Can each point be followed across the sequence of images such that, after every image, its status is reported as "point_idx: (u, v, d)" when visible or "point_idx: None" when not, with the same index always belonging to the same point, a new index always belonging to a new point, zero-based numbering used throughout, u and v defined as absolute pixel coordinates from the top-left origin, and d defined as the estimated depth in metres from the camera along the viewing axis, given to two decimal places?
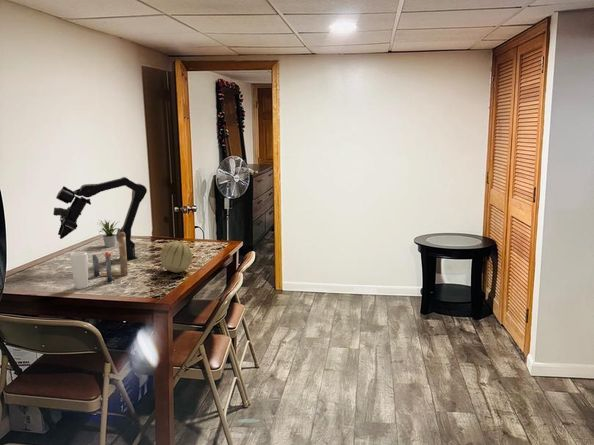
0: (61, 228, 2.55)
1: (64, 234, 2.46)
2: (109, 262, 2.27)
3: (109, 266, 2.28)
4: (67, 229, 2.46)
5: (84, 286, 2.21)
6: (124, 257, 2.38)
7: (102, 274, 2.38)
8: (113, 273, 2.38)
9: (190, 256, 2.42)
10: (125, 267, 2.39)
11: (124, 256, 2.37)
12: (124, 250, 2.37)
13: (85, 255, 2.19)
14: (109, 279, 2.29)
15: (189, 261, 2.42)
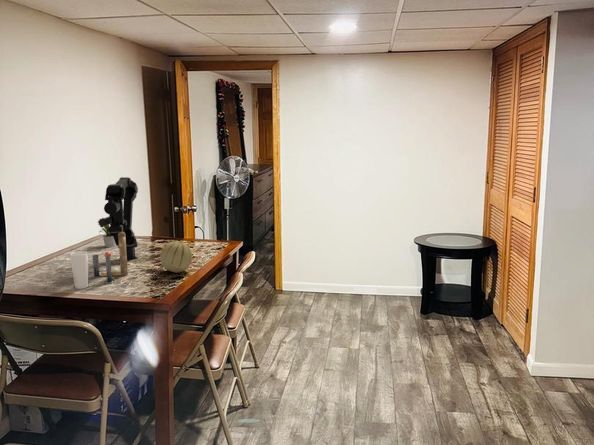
0: None
1: (117, 240, 2.44)
2: (109, 262, 2.27)
3: (109, 266, 2.28)
4: (117, 234, 2.44)
5: (84, 286, 2.21)
6: (124, 257, 2.38)
7: (102, 274, 2.38)
8: (113, 273, 2.38)
9: (190, 256, 2.42)
10: (125, 267, 2.39)
11: (124, 256, 2.37)
12: (124, 250, 2.37)
13: (85, 255, 2.19)
14: (109, 279, 2.29)
15: (189, 261, 2.42)
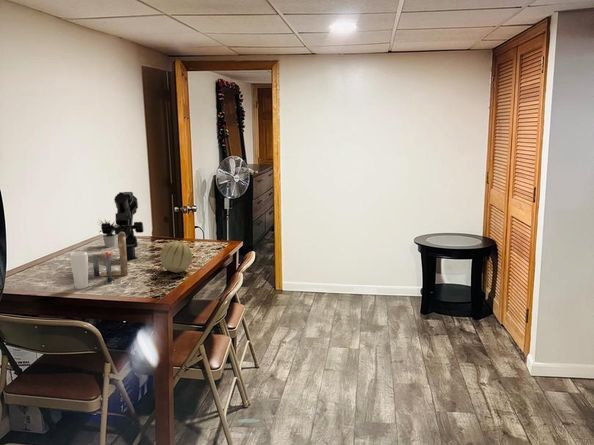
0: None
1: None
2: (109, 262, 2.27)
3: (109, 266, 2.28)
4: (125, 233, 2.49)
5: (84, 286, 2.21)
6: (124, 257, 2.38)
7: (102, 274, 2.38)
8: (113, 273, 2.38)
9: (190, 256, 2.42)
10: (125, 267, 2.39)
11: (124, 256, 2.37)
12: (124, 250, 2.37)
13: (85, 255, 2.19)
14: (109, 279, 2.29)
15: (189, 261, 2.42)
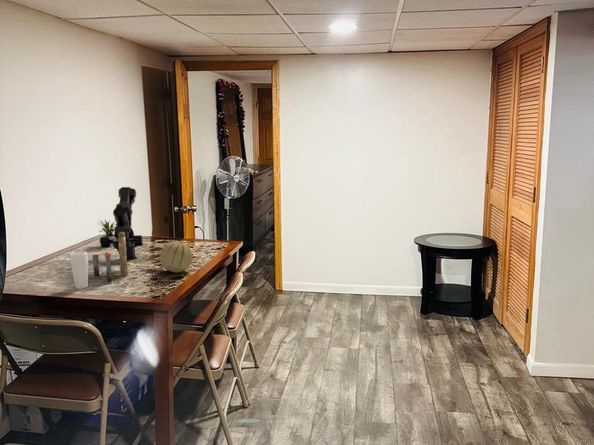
0: None
1: None
2: (109, 262, 2.27)
3: (109, 266, 2.28)
4: None
5: (84, 286, 2.21)
6: (124, 257, 2.37)
7: (102, 274, 2.37)
8: (113, 273, 2.38)
9: (190, 256, 2.42)
10: (125, 267, 2.38)
11: (124, 257, 2.37)
12: (124, 250, 2.37)
13: (85, 255, 2.19)
14: (109, 279, 2.29)
15: (189, 261, 2.42)
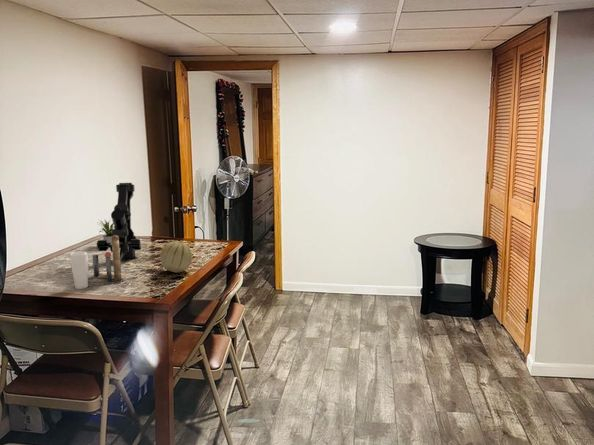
0: None
1: (121, 256, 2.36)
2: (109, 262, 2.27)
3: (109, 266, 2.28)
4: (122, 251, 2.37)
5: (84, 286, 2.21)
6: (116, 261, 2.30)
7: (100, 275, 2.36)
8: None
9: (190, 256, 2.42)
10: (117, 272, 2.31)
11: (116, 261, 2.30)
12: (116, 254, 2.30)
13: (85, 255, 2.19)
14: (109, 279, 2.29)
15: (189, 261, 2.42)
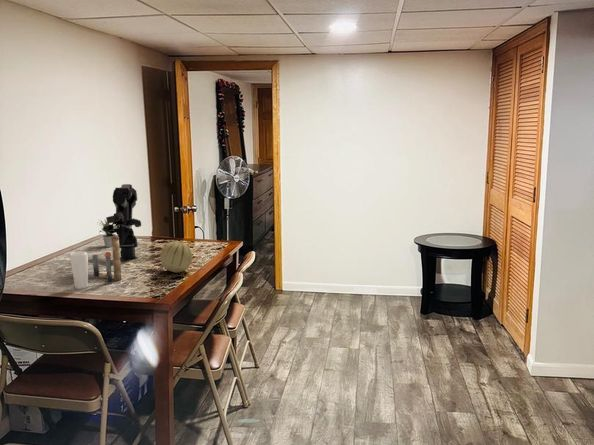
0: None
1: (124, 237, 2.47)
2: (109, 262, 2.27)
3: (109, 266, 2.28)
4: (125, 232, 2.48)
5: (84, 286, 2.21)
6: (116, 261, 2.30)
7: (100, 275, 2.36)
8: None
9: (190, 256, 2.42)
10: (117, 272, 2.31)
11: (116, 261, 2.30)
12: (116, 254, 2.30)
13: (85, 255, 2.19)
14: (109, 279, 2.29)
15: (189, 261, 2.42)
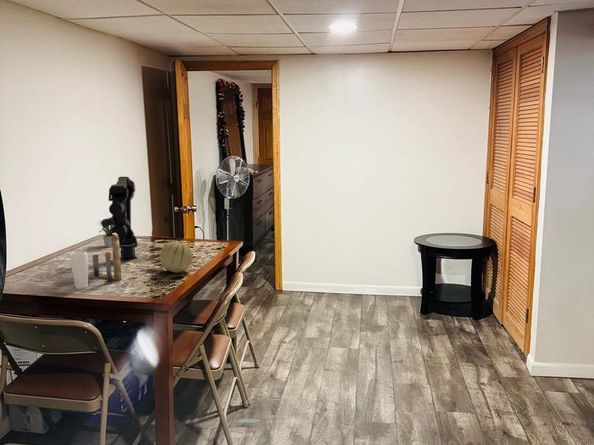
0: None
1: (122, 239, 2.47)
2: (109, 262, 2.27)
3: (109, 266, 2.28)
4: (121, 233, 2.47)
5: (84, 286, 2.21)
6: (116, 261, 2.30)
7: (100, 275, 2.36)
8: None
9: (190, 256, 2.42)
10: (117, 272, 2.31)
11: (116, 261, 2.30)
12: (116, 254, 2.30)
13: (85, 255, 2.19)
14: (109, 279, 2.29)
15: (189, 261, 2.42)
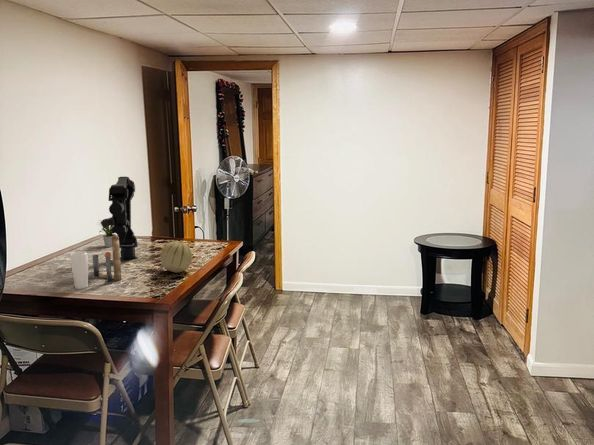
0: None
1: (122, 239, 2.47)
2: (109, 262, 2.27)
3: (109, 266, 2.28)
4: (121, 233, 2.47)
5: (84, 286, 2.21)
6: (116, 261, 2.30)
7: (100, 275, 2.36)
8: None
9: (190, 256, 2.42)
10: (117, 272, 2.31)
11: (116, 261, 2.30)
12: (116, 254, 2.30)
13: (85, 255, 2.19)
14: (109, 279, 2.29)
15: (189, 261, 2.42)
